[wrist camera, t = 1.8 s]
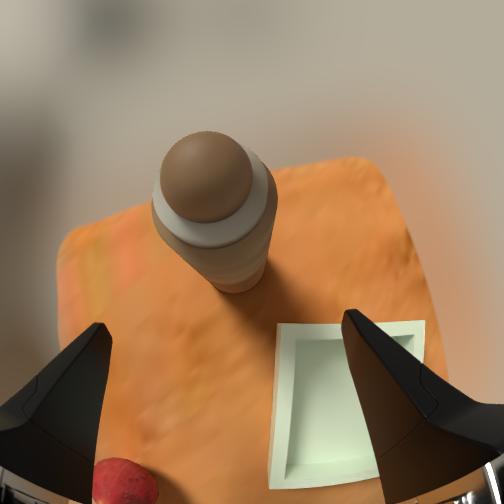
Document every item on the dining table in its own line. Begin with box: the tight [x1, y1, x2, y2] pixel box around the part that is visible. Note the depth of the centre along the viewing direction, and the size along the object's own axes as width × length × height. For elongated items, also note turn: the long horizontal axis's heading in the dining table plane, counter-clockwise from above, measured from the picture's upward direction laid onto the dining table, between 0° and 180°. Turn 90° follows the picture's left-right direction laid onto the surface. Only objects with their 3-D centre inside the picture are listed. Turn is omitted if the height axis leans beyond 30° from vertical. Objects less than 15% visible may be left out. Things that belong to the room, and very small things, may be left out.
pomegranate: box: [92, 457, 159, 504], centre depth 13 cm, size 6×6×8 cm
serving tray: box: [267, 320, 425, 489], centre depth 17 cm, size 13×11×4 cm
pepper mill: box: [152, 131, 278, 294], centre depth 14 cm, size 5×5×15 cm
